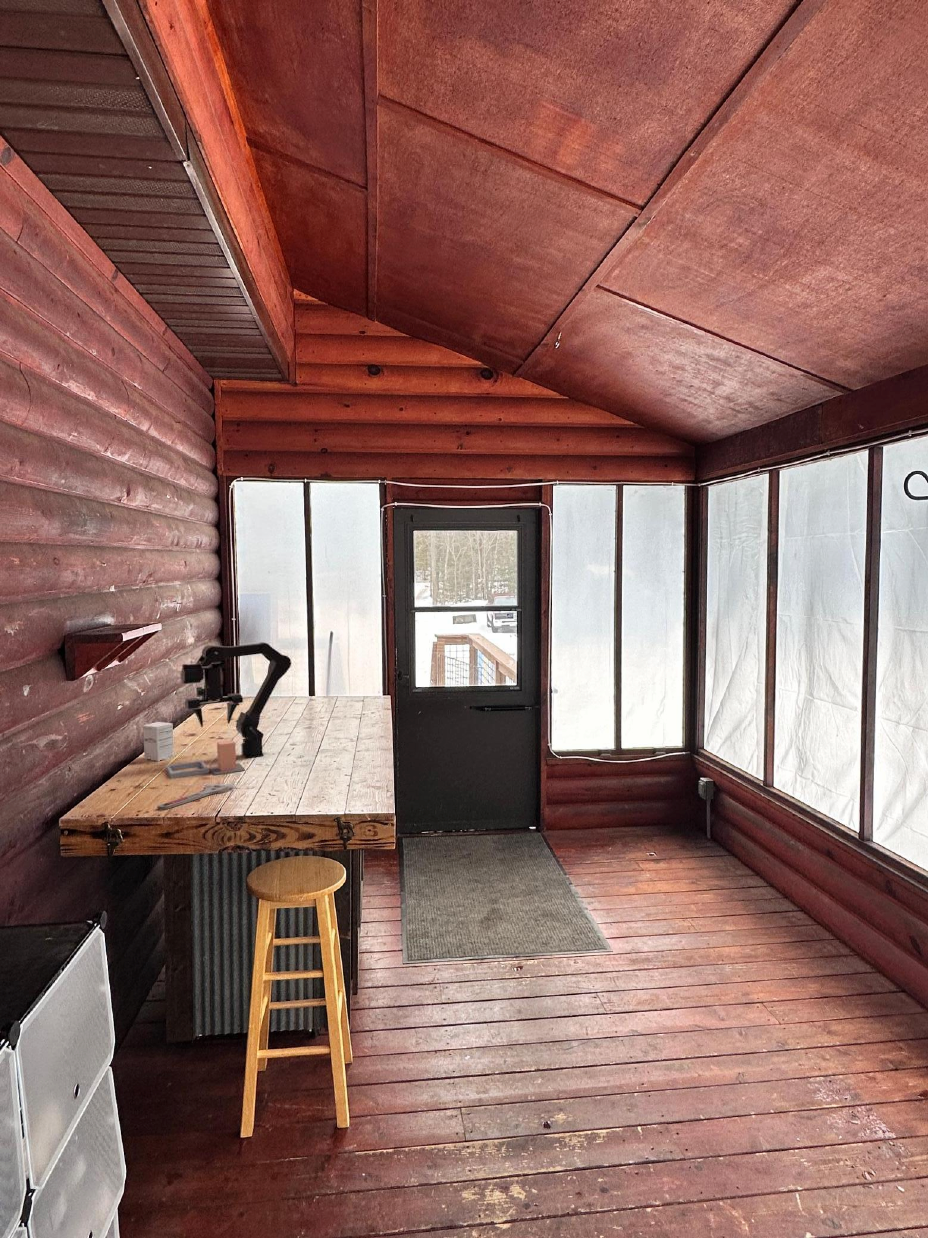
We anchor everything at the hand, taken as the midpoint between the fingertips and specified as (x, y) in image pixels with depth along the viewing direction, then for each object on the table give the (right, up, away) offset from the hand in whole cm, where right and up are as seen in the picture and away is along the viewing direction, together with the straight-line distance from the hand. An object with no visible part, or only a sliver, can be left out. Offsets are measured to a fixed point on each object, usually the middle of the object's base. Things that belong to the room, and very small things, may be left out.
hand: (215, 725), depth 258 cm
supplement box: (-22, -13, +7) cm, 27 cm away
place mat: (+8, -14, -11) cm, 19 cm away
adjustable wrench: (+9, -16, -41) cm, 45 cm away
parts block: (+8, -13, -11) cm, 19 cm away
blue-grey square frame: (-5, -14, -12) cm, 19 cm away
